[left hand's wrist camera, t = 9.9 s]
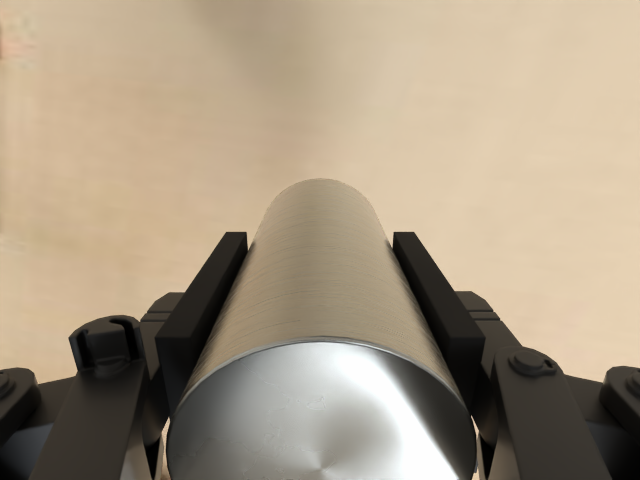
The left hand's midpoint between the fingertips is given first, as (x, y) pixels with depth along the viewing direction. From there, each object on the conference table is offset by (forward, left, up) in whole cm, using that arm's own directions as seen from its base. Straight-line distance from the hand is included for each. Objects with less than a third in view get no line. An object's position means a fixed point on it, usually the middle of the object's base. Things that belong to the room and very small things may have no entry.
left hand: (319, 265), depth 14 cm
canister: (0, 0, -3) cm, 3 cm away
